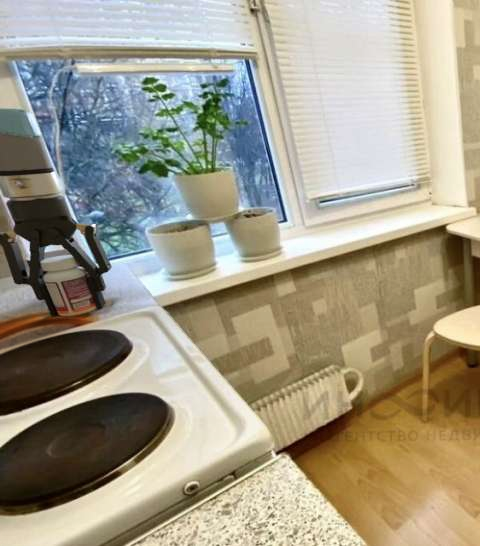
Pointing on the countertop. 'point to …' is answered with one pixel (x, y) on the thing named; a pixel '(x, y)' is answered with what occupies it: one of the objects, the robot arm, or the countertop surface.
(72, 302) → the pill bottle
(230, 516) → the countertop surface
